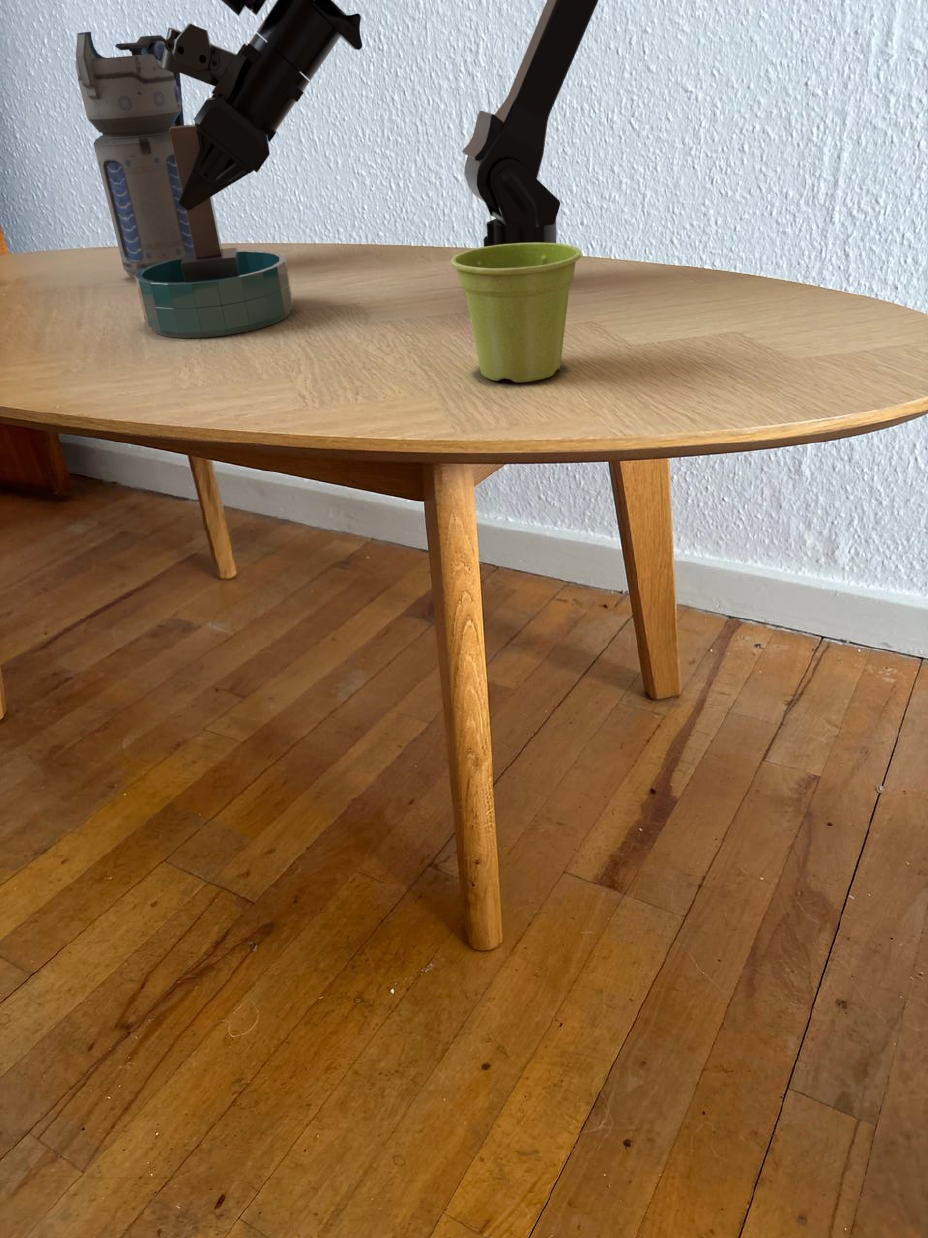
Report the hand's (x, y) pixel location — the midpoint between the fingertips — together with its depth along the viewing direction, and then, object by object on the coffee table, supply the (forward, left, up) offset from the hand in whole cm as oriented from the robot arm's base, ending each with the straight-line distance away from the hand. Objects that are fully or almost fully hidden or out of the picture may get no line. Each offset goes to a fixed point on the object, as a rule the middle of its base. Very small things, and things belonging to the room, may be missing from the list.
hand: (184, 204), depth 89 cm
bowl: (-1, -1, -11) cm, 11 cm away
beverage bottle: (+20, -17, -11) cm, 28 cm away
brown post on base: (-1, -1, -7) cm, 7 cm away
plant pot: (-37, +6, -11) cm, 39 cm away
